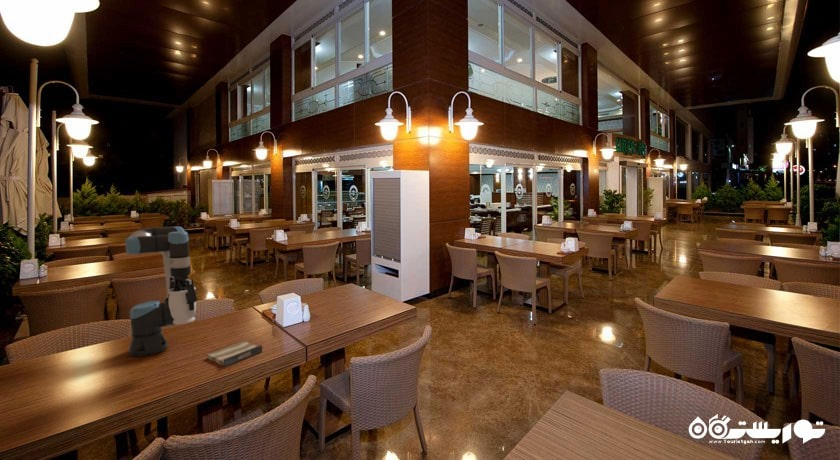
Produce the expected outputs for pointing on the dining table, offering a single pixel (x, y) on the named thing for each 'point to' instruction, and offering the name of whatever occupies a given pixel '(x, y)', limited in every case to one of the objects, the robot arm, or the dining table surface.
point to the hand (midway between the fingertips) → (183, 315)
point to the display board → (234, 353)
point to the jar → (179, 306)
